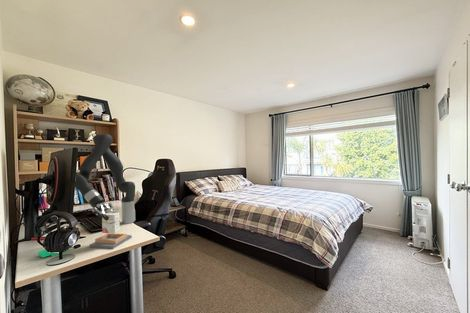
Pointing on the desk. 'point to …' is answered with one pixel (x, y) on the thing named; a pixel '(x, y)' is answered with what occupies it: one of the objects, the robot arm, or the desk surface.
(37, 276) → the desk surface
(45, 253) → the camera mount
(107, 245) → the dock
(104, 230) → the ink cartridge box
